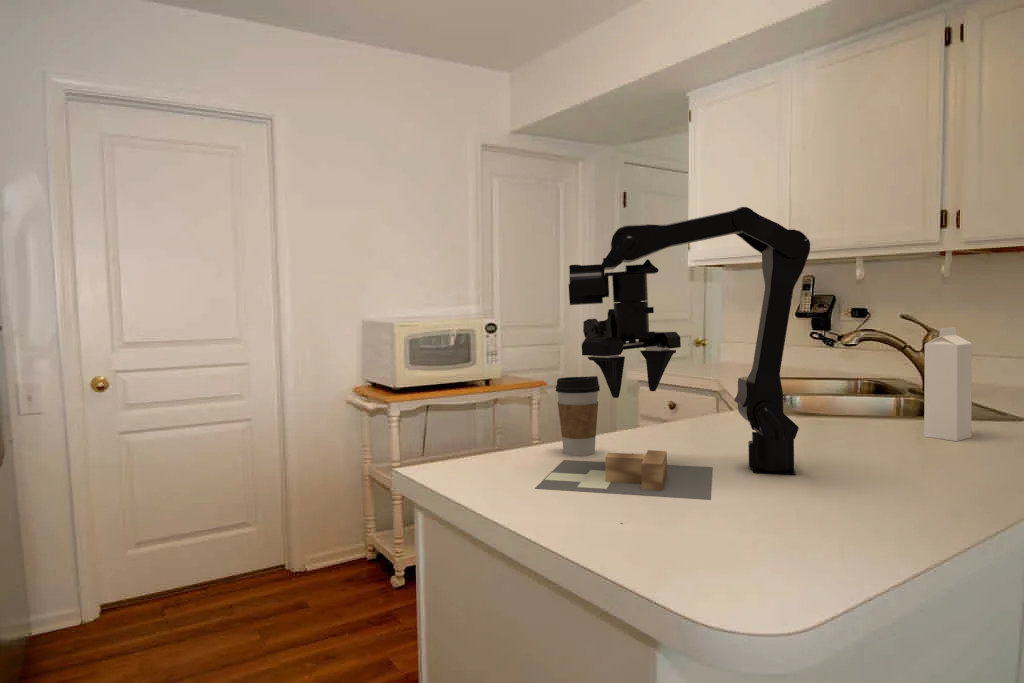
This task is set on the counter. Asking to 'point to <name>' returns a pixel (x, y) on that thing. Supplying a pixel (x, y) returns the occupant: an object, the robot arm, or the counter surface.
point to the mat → (593, 479)
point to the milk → (948, 387)
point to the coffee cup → (578, 414)
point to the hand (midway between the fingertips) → (634, 394)
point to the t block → (638, 469)
